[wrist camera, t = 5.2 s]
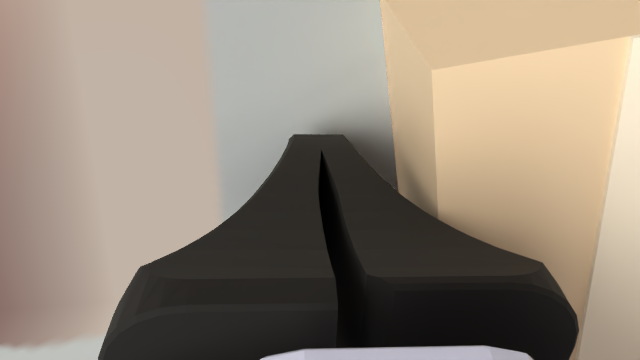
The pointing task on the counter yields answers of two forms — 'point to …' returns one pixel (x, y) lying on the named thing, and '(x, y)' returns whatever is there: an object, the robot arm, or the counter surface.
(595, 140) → the carton
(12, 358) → the counter surface
